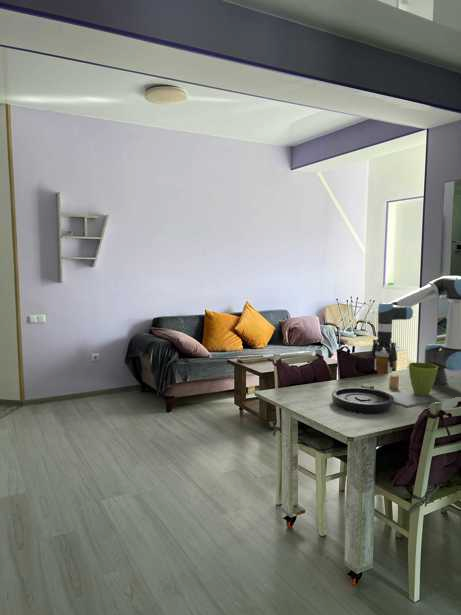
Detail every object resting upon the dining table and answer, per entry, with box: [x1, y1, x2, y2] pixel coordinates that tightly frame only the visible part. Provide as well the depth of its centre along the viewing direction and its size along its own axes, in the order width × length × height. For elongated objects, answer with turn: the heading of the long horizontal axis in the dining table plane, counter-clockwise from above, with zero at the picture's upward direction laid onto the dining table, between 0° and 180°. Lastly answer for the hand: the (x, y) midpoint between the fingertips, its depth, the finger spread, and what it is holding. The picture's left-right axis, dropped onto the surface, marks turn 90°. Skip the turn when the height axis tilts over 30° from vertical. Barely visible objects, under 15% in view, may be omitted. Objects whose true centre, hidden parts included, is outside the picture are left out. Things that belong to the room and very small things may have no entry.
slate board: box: [391, 392, 430, 408], centre depth 249 cm, size 18×16×1 cm
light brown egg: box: [388, 374, 400, 390], centre depth 273 cm, size 5×5×7 cm
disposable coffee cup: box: [375, 349, 390, 375], centre depth 264 cm, size 10×10×12 cm
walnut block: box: [360, 383, 375, 389], centre depth 259 cm, size 5×5×5 cm
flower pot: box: [408, 362, 438, 397], centre depth 261 cm, size 15×15×16 cm
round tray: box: [331, 386, 394, 415], centre depth 239 cm, size 30×6×30 cm
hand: (383, 371), depth 265 cm, fingers closed on disposable coffee cup, 8 cm apart
